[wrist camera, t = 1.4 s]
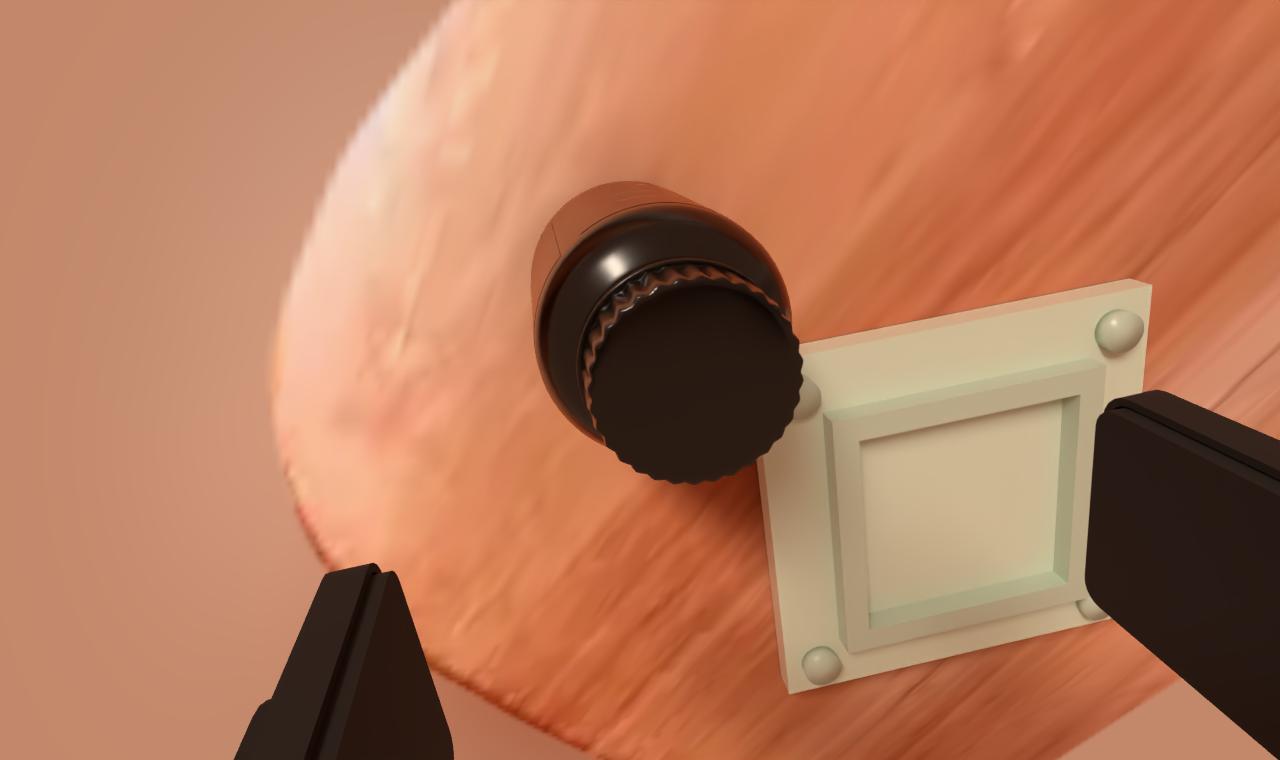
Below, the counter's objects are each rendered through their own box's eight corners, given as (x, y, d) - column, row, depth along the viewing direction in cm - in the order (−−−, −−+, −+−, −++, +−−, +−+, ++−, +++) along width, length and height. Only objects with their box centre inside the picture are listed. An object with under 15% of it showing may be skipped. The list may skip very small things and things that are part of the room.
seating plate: (1129, 278, 30) (1173, 290, 27) (1101, 600, 35) (1136, 630, 33) (744, 355, 28) (761, 374, 26) (780, 675, 34) (796, 711, 32)
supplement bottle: (689, 378, 28) (791, 552, 17) (514, 343, 27) (501, 507, 16) (741, 202, 26) (894, 270, 15) (554, 154, 25) (572, 188, 14)
